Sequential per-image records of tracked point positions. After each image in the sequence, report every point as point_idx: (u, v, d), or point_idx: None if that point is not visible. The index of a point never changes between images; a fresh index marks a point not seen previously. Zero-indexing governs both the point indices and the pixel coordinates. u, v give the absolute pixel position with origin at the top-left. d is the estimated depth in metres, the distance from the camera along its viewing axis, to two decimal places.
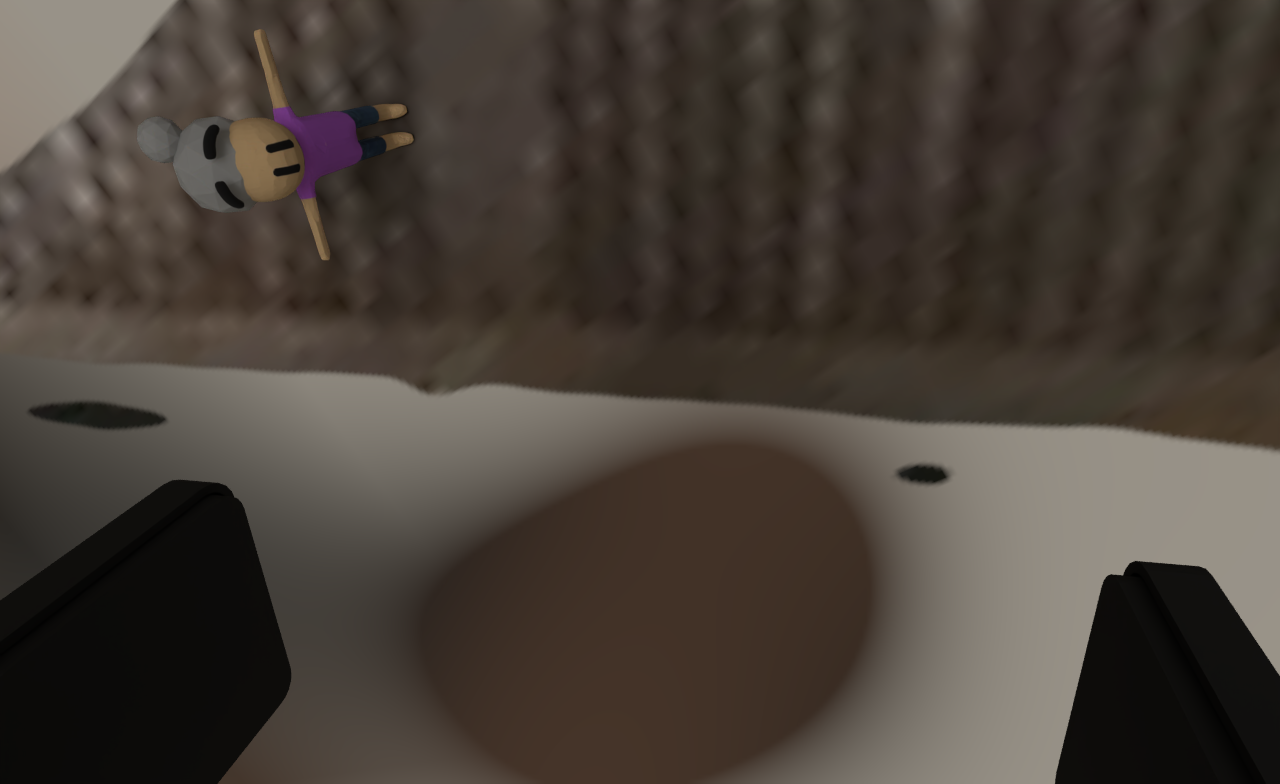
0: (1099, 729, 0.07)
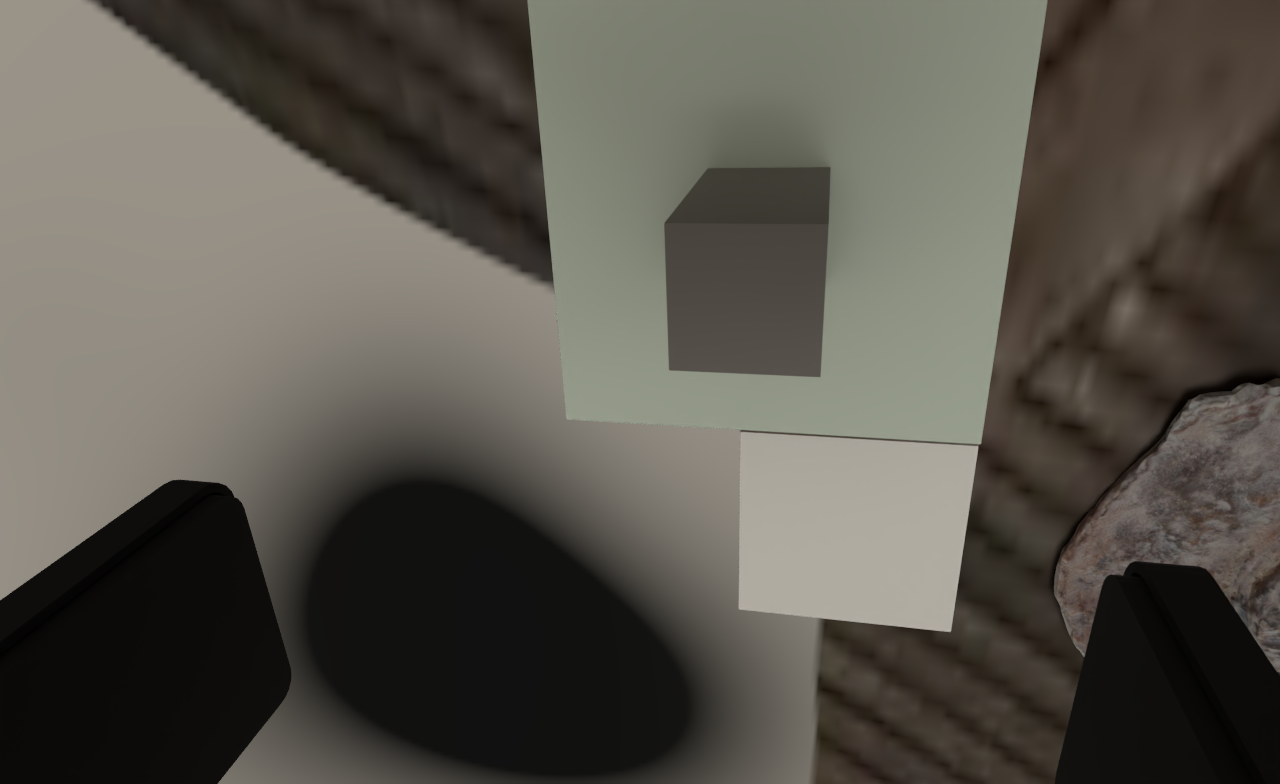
0: (1099, 729, 0.07)
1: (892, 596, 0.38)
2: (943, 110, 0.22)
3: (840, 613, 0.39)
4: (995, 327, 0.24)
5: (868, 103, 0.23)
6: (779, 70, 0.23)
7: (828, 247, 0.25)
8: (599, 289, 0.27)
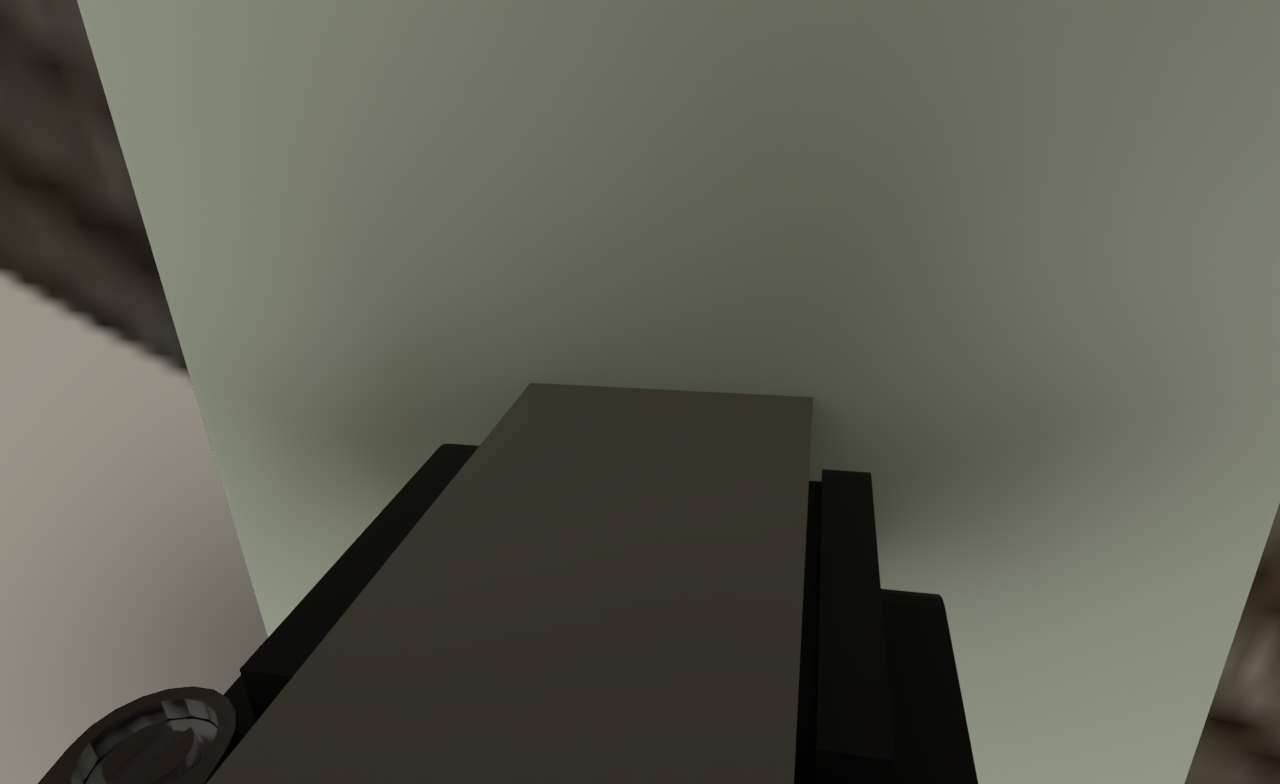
0: None
1: None
2: (1105, 282, 0.09)
3: None
4: (1190, 743, 0.11)
5: (908, 259, 0.09)
6: (682, 172, 0.09)
7: None
8: None
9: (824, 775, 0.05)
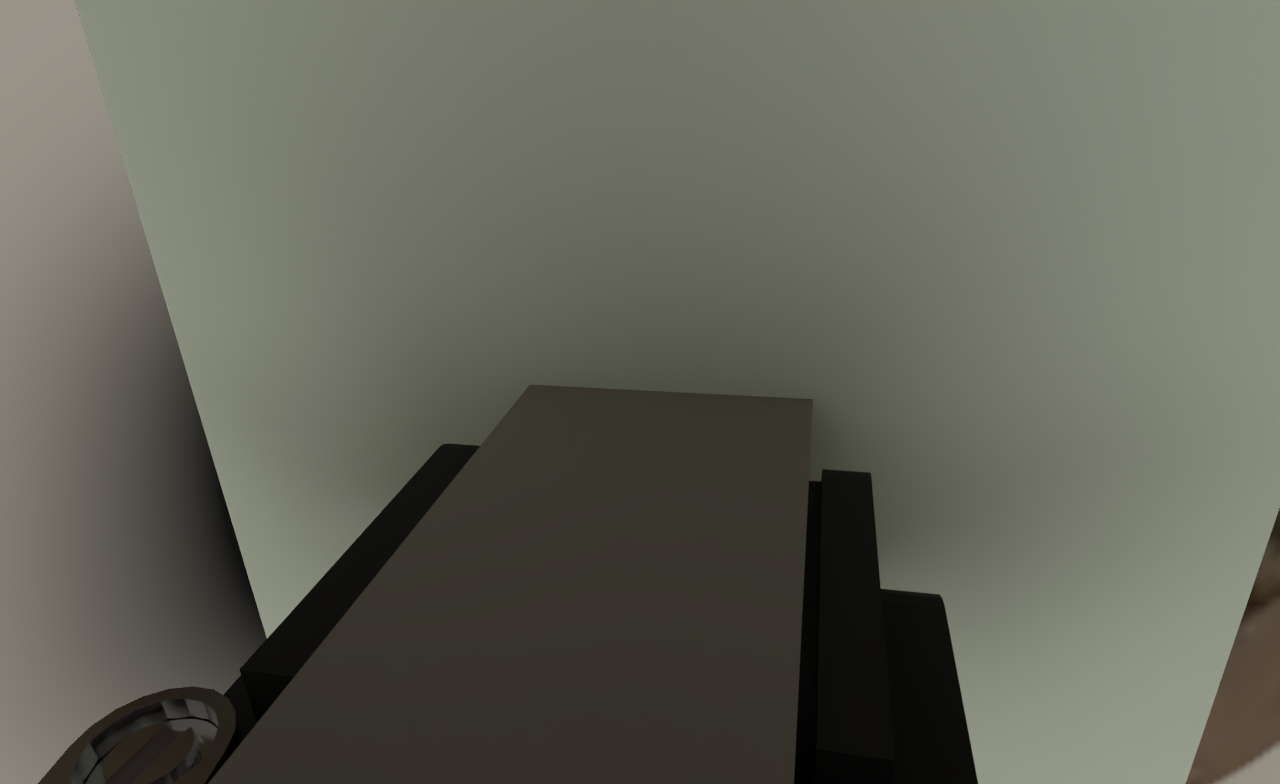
0: None
1: None
2: (1105, 284, 0.09)
3: None
4: (1190, 746, 0.11)
5: (907, 261, 0.09)
6: (682, 173, 0.09)
7: None
8: None
9: (824, 775, 0.05)
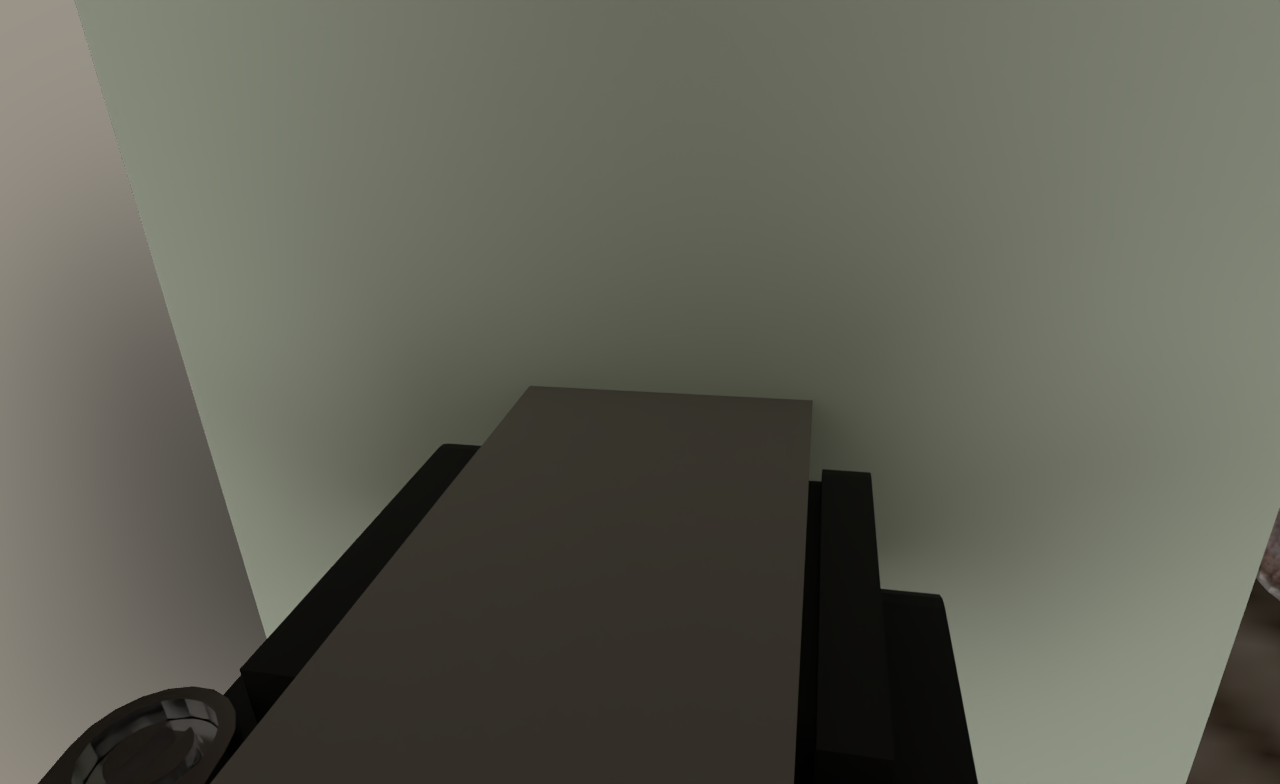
0: None
1: None
2: (1105, 286, 0.09)
3: None
4: (1190, 747, 0.11)
5: (908, 263, 0.09)
6: (682, 175, 0.09)
7: None
8: None
9: (825, 775, 0.05)
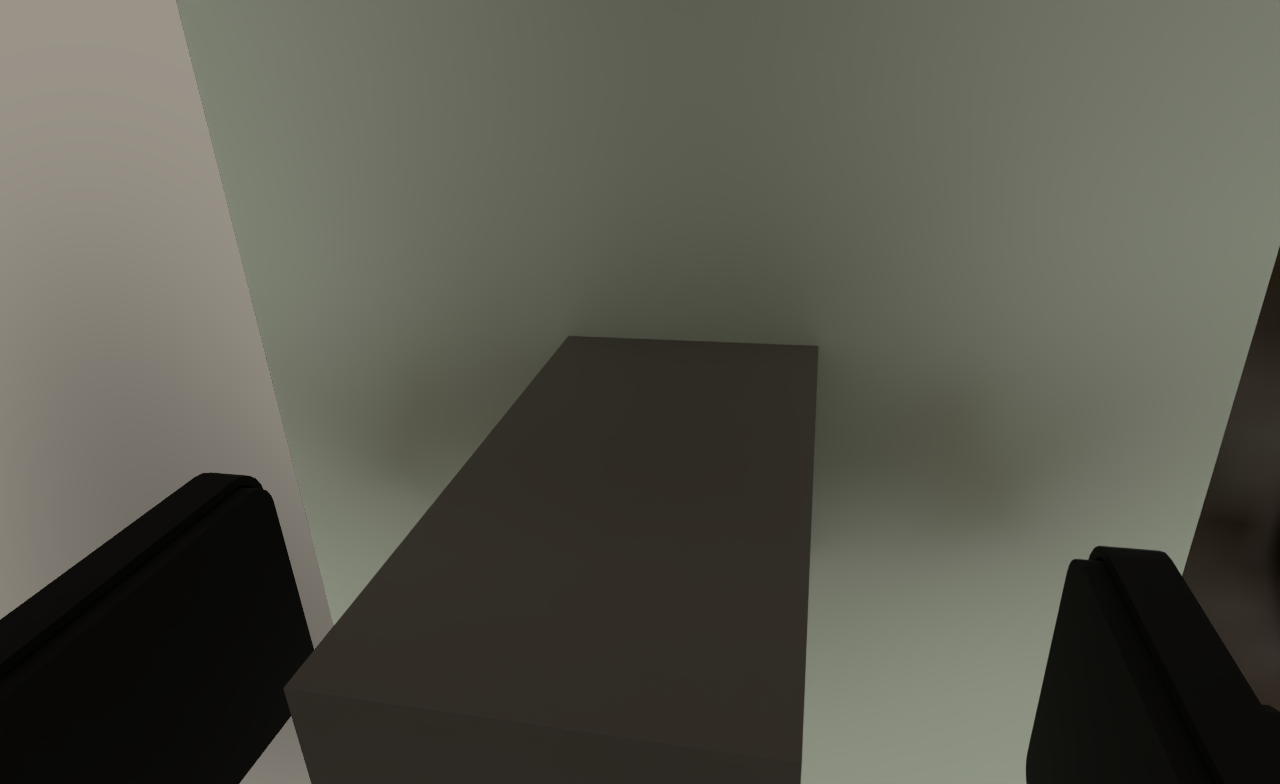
0: (1064, 709, 0.07)
1: None
2: (1071, 241, 0.10)
3: None
4: None
5: (902, 222, 0.10)
6: (707, 146, 0.10)
7: (814, 493, 0.12)
8: (387, 534, 0.14)
9: None
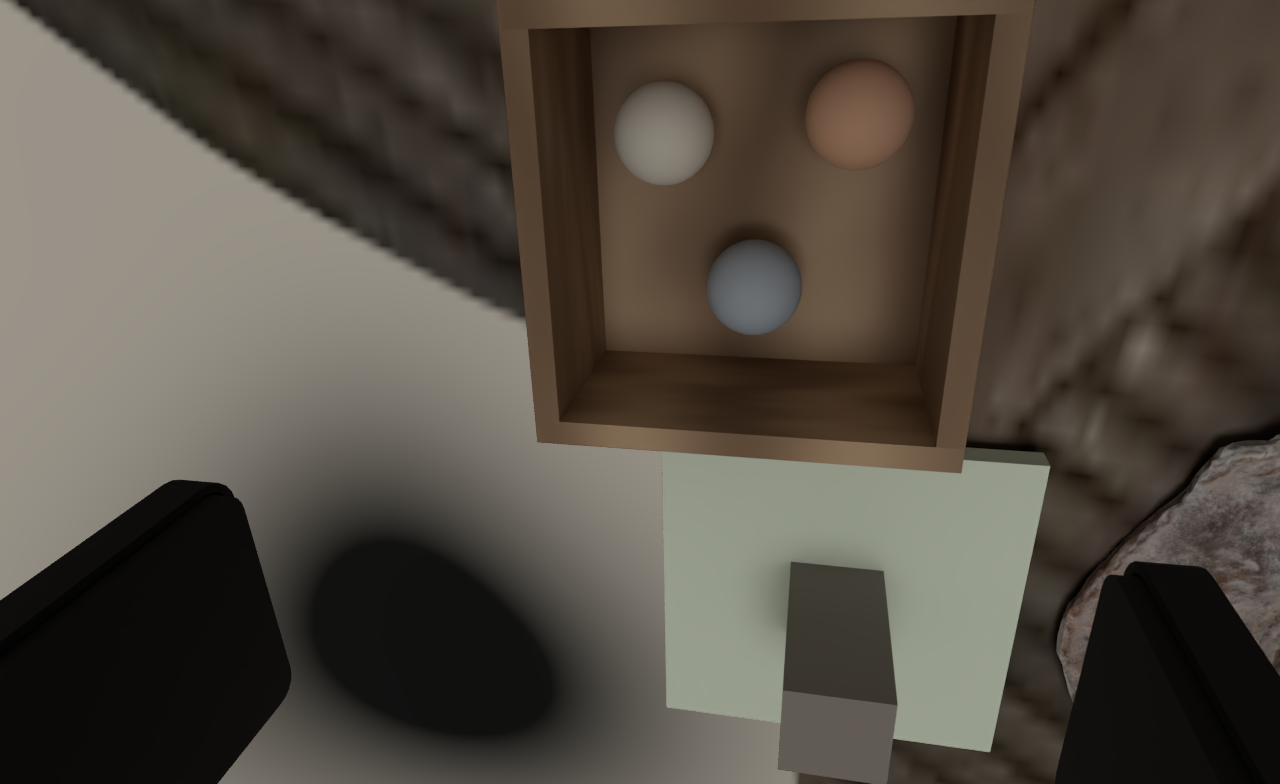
0: (1099, 729, 0.07)
1: None
2: (968, 546, 0.31)
3: None
4: (1003, 680, 0.33)
5: (913, 536, 0.31)
6: (848, 509, 0.31)
7: None
8: (700, 627, 0.35)
9: None
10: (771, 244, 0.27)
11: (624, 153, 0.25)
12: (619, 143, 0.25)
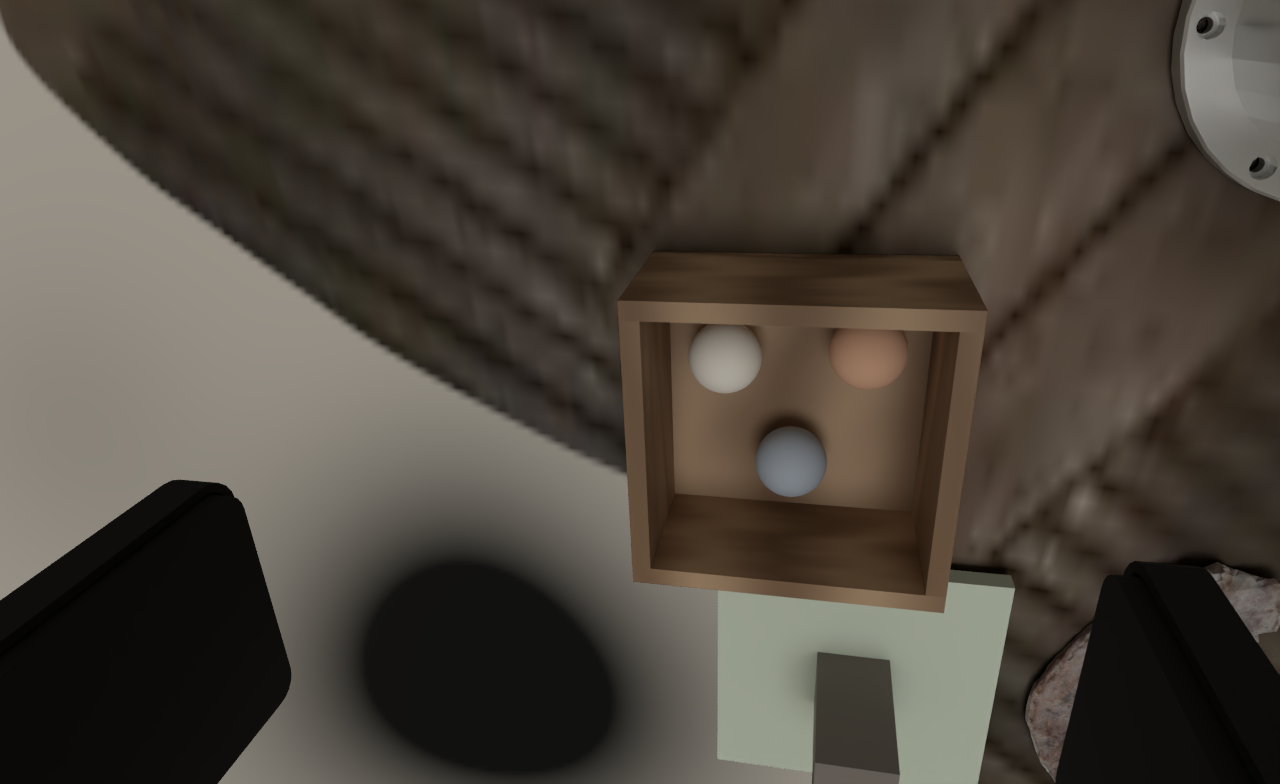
0: (1099, 729, 0.07)
1: None
2: (954, 644, 0.40)
3: None
4: (983, 742, 0.42)
5: (912, 635, 0.40)
6: (862, 615, 0.40)
7: None
8: (745, 698, 0.44)
9: None
10: (804, 433, 0.36)
11: (697, 375, 0.35)
12: (693, 367, 0.35)
